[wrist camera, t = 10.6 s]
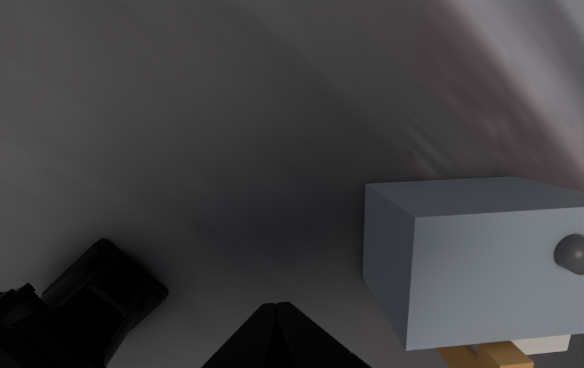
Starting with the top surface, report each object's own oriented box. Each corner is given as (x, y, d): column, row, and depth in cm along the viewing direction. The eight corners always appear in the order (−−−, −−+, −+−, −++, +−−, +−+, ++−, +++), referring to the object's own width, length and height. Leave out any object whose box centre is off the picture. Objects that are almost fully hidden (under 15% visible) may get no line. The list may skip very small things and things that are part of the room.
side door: (417, 323, 24) (490, 422, 16) (421, 281, 23) (500, 365, 16) (483, 317, 25) (585, 411, 17) (489, 276, 24) (600, 355, 16)
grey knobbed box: (362, 279, 23) (412, 364, 15) (365, 183, 22) (423, 223, 13) (525, 266, 25) (652, 340, 16) (541, 174, 23) (693, 206, 15)
